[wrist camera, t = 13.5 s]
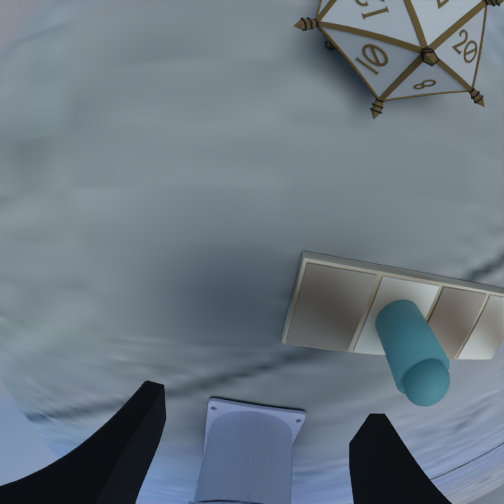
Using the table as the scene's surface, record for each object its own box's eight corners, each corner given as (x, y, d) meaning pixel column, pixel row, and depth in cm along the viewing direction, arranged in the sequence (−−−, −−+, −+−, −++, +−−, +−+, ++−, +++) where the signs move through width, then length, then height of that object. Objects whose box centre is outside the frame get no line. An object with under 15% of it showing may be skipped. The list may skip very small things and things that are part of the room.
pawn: (403, 343, 18) (436, 421, 12) (366, 333, 18) (392, 417, 12) (427, 306, 17) (472, 380, 11) (390, 293, 17) (430, 373, 11)
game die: (381, 39, 15) (519, 13, 7) (367, 150, 16) (545, 153, 7) (272, -43, 11) (422, -126, 2) (226, 71, 11) (466, -38, 3)
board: (485, 352, 20) (491, 361, 19) (281, 333, 20) (281, 345, 19) (517, 291, 17) (525, 298, 16) (302, 250, 18) (304, 259, 17)
